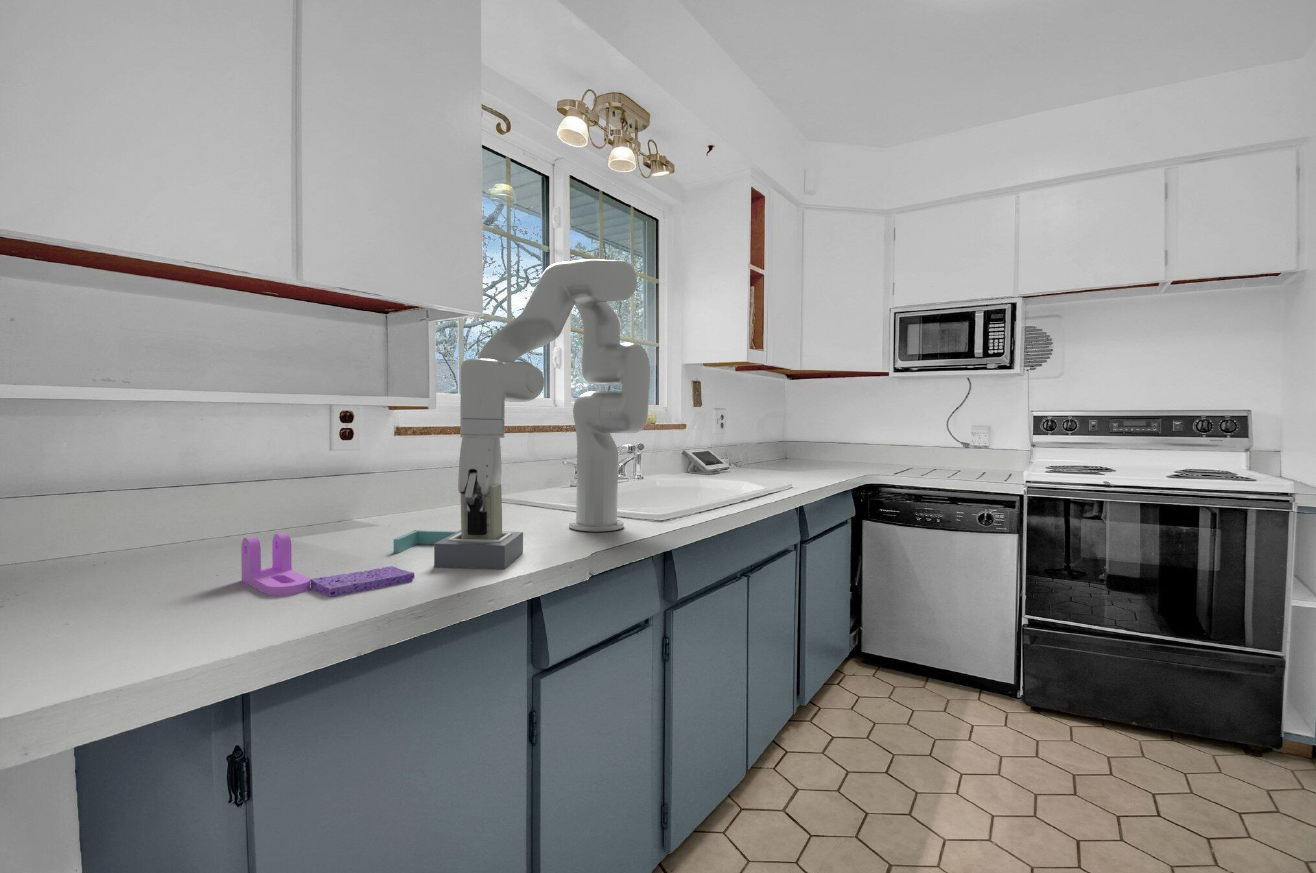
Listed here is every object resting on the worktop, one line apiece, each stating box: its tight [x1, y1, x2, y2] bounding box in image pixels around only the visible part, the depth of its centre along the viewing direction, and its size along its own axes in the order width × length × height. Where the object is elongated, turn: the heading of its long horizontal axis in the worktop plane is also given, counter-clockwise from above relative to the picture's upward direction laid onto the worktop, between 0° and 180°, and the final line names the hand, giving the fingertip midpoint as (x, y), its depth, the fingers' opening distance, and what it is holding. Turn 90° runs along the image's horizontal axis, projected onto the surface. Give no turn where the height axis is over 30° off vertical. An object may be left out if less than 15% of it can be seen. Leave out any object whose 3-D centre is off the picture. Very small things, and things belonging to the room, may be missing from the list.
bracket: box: [240, 532, 311, 597], centre depth 91 cm, size 13×6×7 cm, turn 51°
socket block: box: [433, 529, 524, 570], centre depth 109 cm, size 12×12×4 cm
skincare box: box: [460, 483, 503, 540], centre depth 109 cm, size 6×4×12 cm
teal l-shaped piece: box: [393, 529, 459, 554], centre depth 117 cm, size 9×11×2 cm
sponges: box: [310, 565, 415, 598], centre depth 92 cm, size 7×13×2 cm, turn 139°
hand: (481, 530), depth 109 cm, fingers closed on skincare box, 4 cm apart
